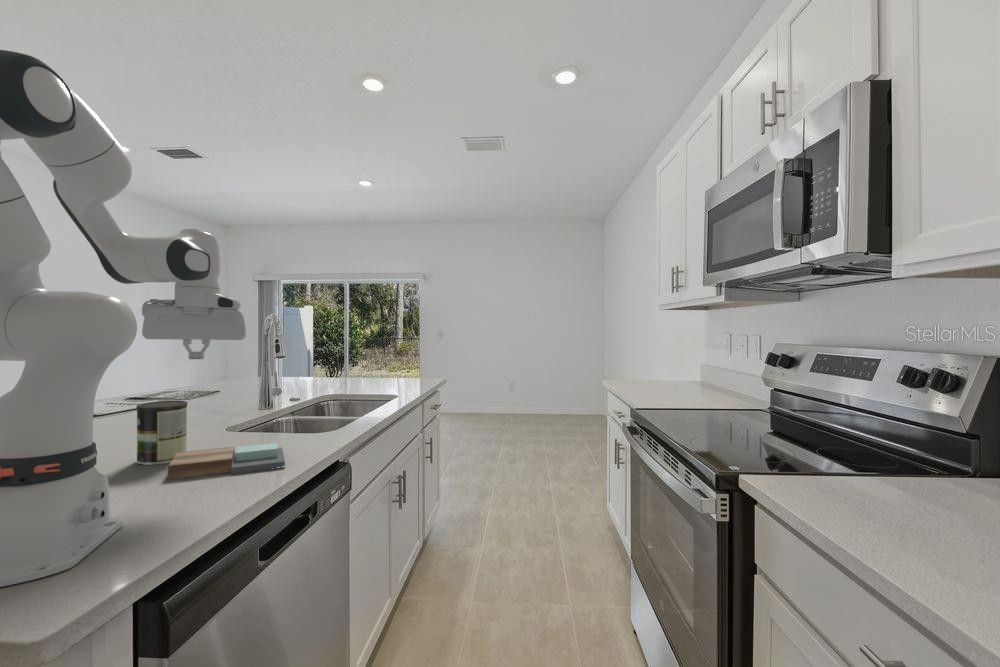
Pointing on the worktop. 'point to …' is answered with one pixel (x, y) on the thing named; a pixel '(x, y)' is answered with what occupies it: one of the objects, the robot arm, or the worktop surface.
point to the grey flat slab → (257, 463)
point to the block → (256, 452)
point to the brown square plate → (201, 462)
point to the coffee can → (161, 431)
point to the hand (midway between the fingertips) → (196, 359)
